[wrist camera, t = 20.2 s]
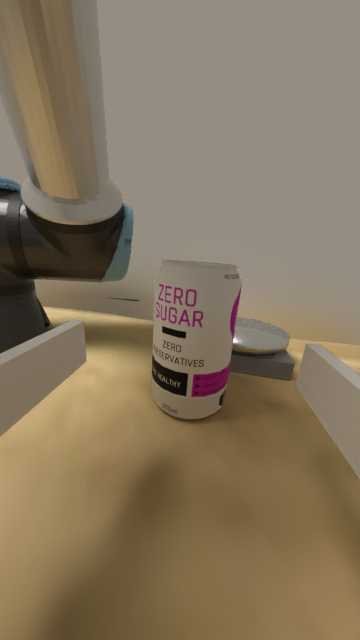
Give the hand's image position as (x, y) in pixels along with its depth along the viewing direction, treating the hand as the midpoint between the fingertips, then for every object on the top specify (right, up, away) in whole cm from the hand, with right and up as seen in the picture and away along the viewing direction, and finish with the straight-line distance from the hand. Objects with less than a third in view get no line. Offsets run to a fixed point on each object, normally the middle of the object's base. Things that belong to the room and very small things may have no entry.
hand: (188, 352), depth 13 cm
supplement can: (0, -7, +12) cm, 14 cm away
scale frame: (+10, -4, +24) cm, 26 cm away
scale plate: (+10, -3, +24) cm, 26 cm away
